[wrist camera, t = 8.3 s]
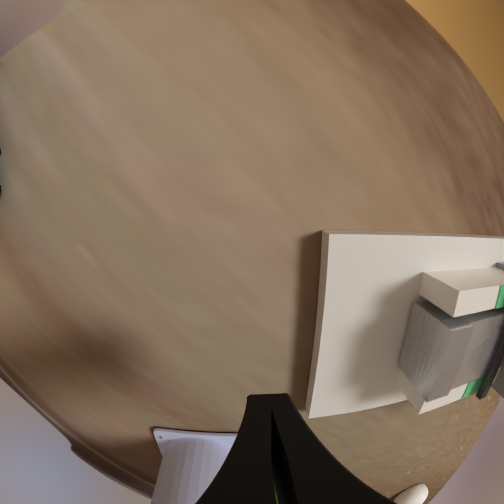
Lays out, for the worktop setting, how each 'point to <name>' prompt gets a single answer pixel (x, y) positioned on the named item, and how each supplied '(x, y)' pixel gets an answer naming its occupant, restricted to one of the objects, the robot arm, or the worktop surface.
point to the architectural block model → (392, 311)
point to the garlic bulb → (412, 495)
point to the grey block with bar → (451, 349)
